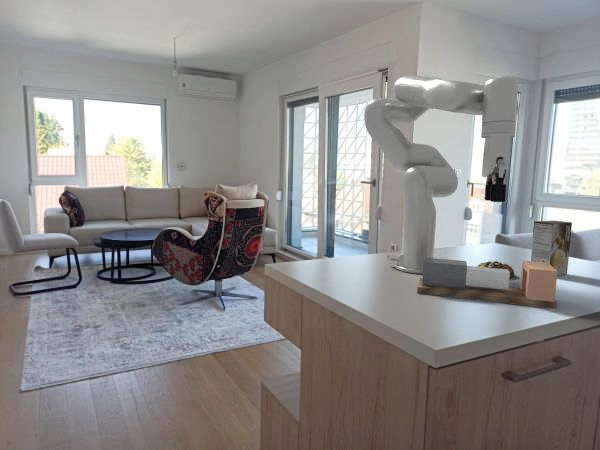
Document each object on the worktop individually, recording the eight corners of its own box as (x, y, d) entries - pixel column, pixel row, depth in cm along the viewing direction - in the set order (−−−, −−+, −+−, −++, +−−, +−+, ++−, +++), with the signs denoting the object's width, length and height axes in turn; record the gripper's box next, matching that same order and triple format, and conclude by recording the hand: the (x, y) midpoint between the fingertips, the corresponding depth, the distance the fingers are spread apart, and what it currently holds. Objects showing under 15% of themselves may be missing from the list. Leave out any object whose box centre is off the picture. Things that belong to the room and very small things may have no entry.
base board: (417, 292, 104) (417, 287, 104) (419, 283, 113) (420, 277, 113) (556, 308, 94) (556, 302, 94) (546, 296, 103) (547, 290, 103)
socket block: (526, 298, 96) (529, 268, 95) (519, 288, 105) (522, 260, 104) (554, 301, 94) (557, 271, 93) (544, 290, 103) (547, 262, 103)
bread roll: (522, 276, 125) (521, 259, 124) (499, 285, 119) (499, 268, 118) (488, 269, 134) (487, 254, 133) (465, 278, 128) (465, 262, 128)
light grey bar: (426, 281, 106) (427, 265, 105) (427, 277, 109) (428, 262, 109) (508, 289, 100) (509, 272, 99) (506, 285, 103) (507, 269, 103)
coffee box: (547, 270, 134) (552, 219, 132) (567, 274, 128) (573, 222, 126) (528, 272, 129) (533, 220, 127) (549, 277, 124) (554, 223, 122)
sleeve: (422, 285, 105) (423, 261, 104) (423, 280, 111) (424, 257, 110) (465, 290, 102) (467, 265, 101) (464, 284, 108) (466, 261, 107)
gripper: (477, 135, 112) (474, 199, 114) (486, 126, 96) (482, 202, 98) (508, 134, 110) (504, 200, 112) (522, 125, 94) (518, 202, 95)
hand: (494, 201), depth 105 cm, fingers open, 9 cm apart
